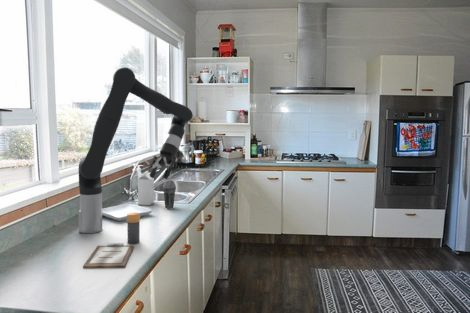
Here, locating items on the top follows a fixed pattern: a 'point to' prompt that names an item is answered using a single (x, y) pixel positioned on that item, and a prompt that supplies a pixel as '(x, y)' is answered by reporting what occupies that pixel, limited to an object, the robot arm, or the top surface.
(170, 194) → the beverage cup
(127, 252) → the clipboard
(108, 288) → the top surface
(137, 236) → the orange-capped grey cylinder
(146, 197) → the milk carton
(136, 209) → the salad plate
